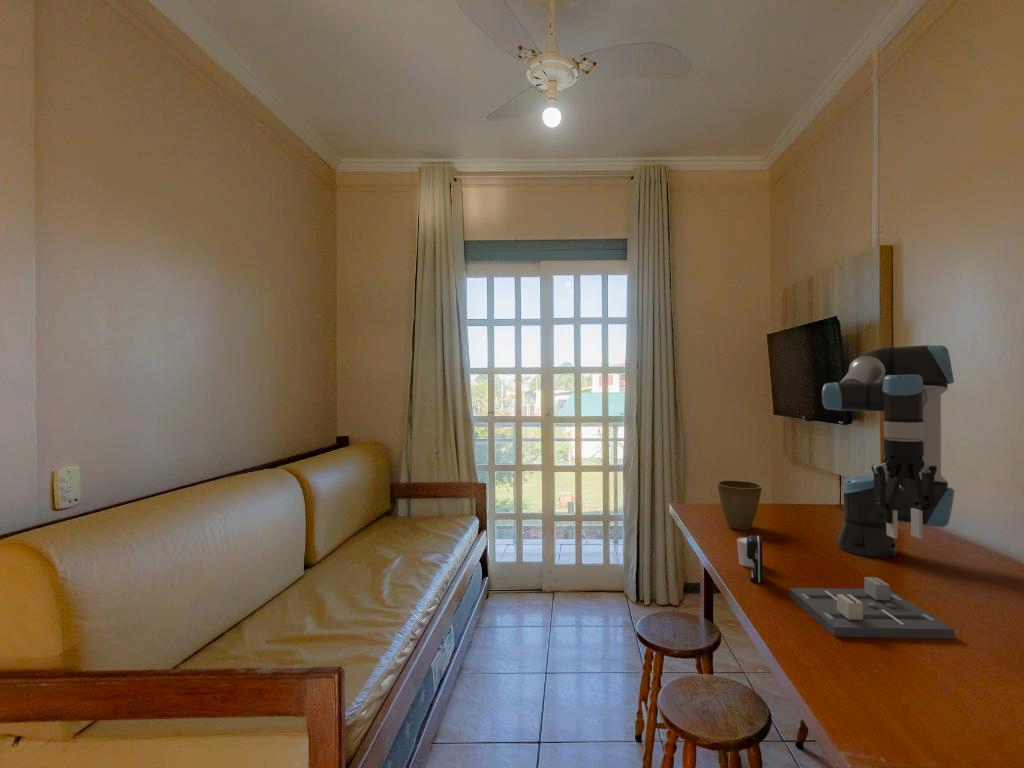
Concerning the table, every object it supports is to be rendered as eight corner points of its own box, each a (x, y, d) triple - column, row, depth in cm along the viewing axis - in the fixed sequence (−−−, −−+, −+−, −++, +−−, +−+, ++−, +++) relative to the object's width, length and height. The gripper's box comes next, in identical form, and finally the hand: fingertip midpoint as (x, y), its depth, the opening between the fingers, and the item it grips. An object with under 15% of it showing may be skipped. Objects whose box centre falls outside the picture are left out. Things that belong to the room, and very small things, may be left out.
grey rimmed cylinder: (765, 568, 144) (765, 544, 144) (740, 567, 145) (739, 543, 145) (758, 560, 151) (758, 537, 151) (734, 559, 152) (734, 536, 152)
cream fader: (850, 610, 113) (850, 593, 113) (862, 619, 108) (862, 601, 108) (836, 610, 113) (836, 592, 113) (848, 619, 108) (848, 601, 108)
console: (888, 597, 124) (888, 586, 124) (954, 638, 104) (953, 626, 104) (788, 595, 126) (788, 585, 126) (834, 636, 106) (834, 624, 106)
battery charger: (746, 573, 141) (746, 532, 141) (761, 574, 140) (761, 534, 140) (747, 582, 135) (746, 540, 135) (762, 584, 133) (762, 541, 133)
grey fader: (877, 592, 122) (876, 576, 122) (889, 600, 117) (889, 583, 117) (864, 592, 122) (864, 576, 122) (876, 599, 118) (875, 583, 118)
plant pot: (760, 535, 174) (759, 490, 174) (714, 529, 182) (714, 485, 182) (764, 524, 186) (763, 482, 186) (721, 519, 194) (721, 478, 194)
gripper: (931, 437, 122) (932, 532, 122) (854, 437, 123) (855, 531, 124) (956, 440, 115) (957, 541, 115) (874, 441, 116) (875, 541, 116)
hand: (904, 536), depth 119 cm, fingers open, 5 cm apart
